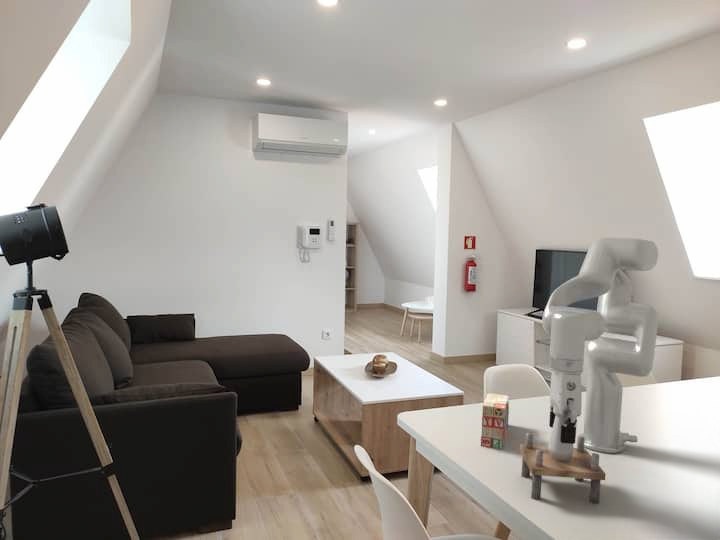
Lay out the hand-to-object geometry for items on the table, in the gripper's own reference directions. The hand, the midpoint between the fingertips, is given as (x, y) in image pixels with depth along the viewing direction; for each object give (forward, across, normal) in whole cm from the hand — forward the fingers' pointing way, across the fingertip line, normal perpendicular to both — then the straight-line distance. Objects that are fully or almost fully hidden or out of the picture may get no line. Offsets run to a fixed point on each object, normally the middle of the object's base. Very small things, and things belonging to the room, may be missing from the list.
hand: (561, 434), depth 127 cm
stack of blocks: (+14, +32, +10) cm, 36 cm away
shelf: (+13, 0, 0) cm, 13 cm away
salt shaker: (+6, 0, 0) cm, 6 cm away
